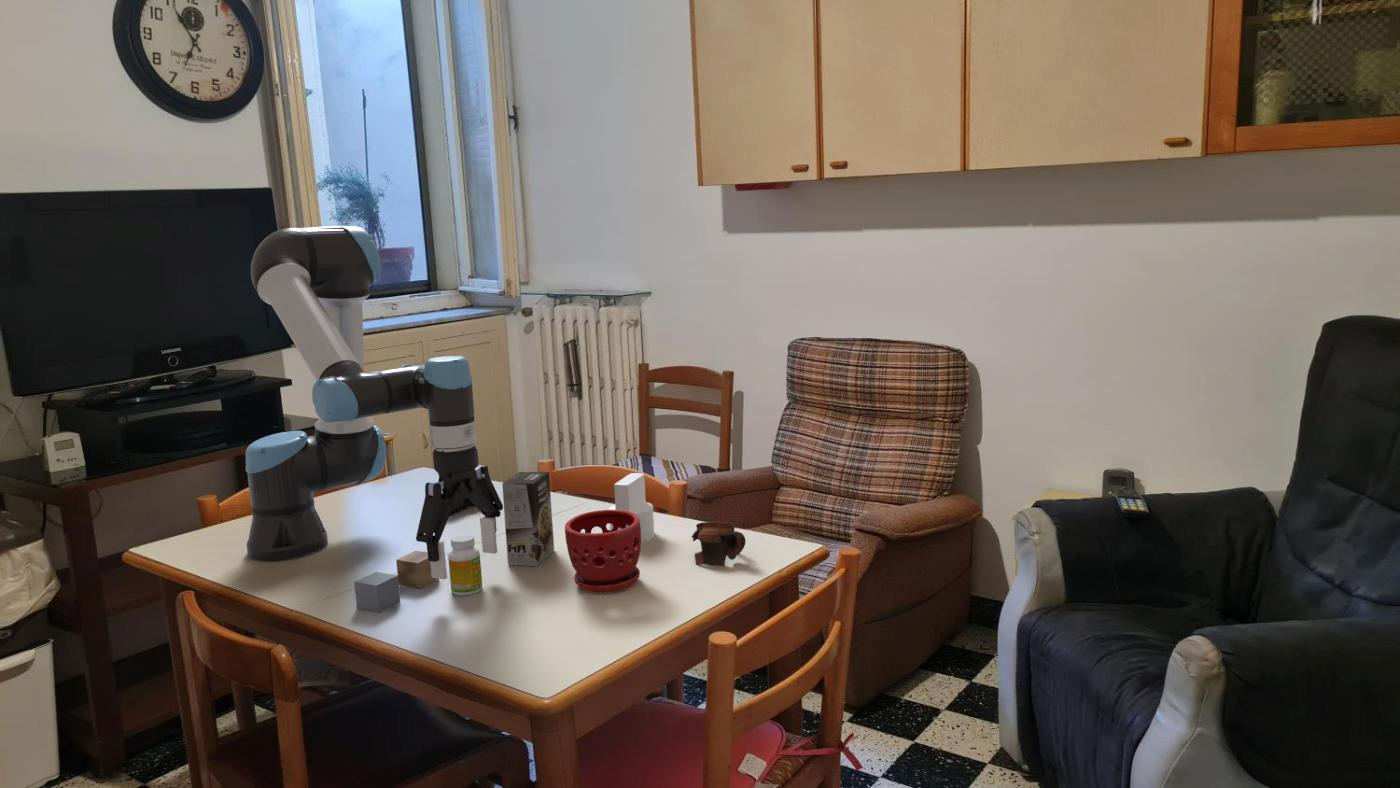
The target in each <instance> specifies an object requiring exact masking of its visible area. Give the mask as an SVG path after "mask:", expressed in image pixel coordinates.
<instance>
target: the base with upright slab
mask: <svg viewBox="0 0 1400 788" xmlns="http://www.w3.org/2000/svg"><path fill="white" fill-rule="evenodd" d="M613 486H614V488H613V489H614V504H612V505H611V506H609V508H608V510H623V511H628V512H632V513H634V514H636V515H637V516H638V518H639V520H640V528H641V543H643V541H644V542H646V541H650V540H651V539H653V538H654V537H655V523H654V521H655V519H654V505H653V503H650V502H647V501H646V485H645V474H644V473H637V472H636V473H635V472H634V473H633V472H630V473H629V474H627V475H626V476H624V477H623V478H622V479H620V480H618V481H616V483H614V484H613ZM626 527H628V525H626ZM612 529H613V525H612V524H610V523H609V530H612ZM618 530H621V528H618ZM633 543H634V542H633Z"/></svg>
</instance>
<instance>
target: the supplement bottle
mask: <svg viewBox="0 0 1400 788" xmlns="http://www.w3.org/2000/svg"><path fill="white" fill-rule="evenodd" d="M475 543H476V541H475V536H474V535H472V534H459V535H455V536H453V537H451V538H450V546H451V550H450V551H449V552H448V554H447V557H448V558H447V560H448V570H449V579H450V581H449V582H450V590H451V593H452V594H453V595H456V596H458V597H459V596H471V595H474V594H477V593H479V592H480V591H481V590H482V589H483V577H482V576H483V575H482V566H481V565H482V563H481V554H480V550H479V548H478V547H476V546H475Z"/></svg>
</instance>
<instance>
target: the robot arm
mask: <svg viewBox="0 0 1400 788" xmlns="http://www.w3.org/2000/svg"><path fill="white" fill-rule="evenodd" d="M380 258H381V257H380V253H379V250H378V248H377V245H376V243H375V241H374V239H373V238H372V236H371V235H370V233H369V231H367V230H366V229H364V228H362V227H360V226H349V225H331V226H330V225H329V226H313V227H312V226H310V227H308V226H307V227H286V228H282V229H279V230H276V231H274V232H272V233H270V234H269V235H268V236H266V237H265V238H264V239H262V241H261V242H260V243H259V244H258V246H257V248H256V249H255V251H254V253H253V256H252V259H251V262H250V277H251V278H250V279H251V282H252V285H253V287H254V289H255V291H256V293H257V295H258V296H259V298H260V299H261V300H262V301H263V302H264V303H266V304H268V305H270V306H271V307H272V309H273V310H274V312H275V314H276V315H277V316H278V318H279V320H280V321H281V324H282V326H284V329H285V330H286V332H287V334H288V335H289V337H290V339H291V340H292V342H293V343H294V345H295V347H296V349H297V351H298V352H299V354H300V356H301V358H302V359H303V362H305V364H306V367H308V369H309V371H310V372H311V374H312V376H313V377H314V379H315V382H314V384H313V385H312V386H313V387H312V392H311V394H312V395H311V396H312V403H313V406H314V410H315V414H316V415H317V417H318V418H319V419H318V420H317V421H316V422H314V432H315V433H314V435H309V436H308V435H307V433H306V432H305V431H303V430H289V431H286V432H285V431H282V432H277V433H273V434H270V435H266V436H264V437H261V438H259V439H257V440H255V441H253V442H252V443H250V444H249V445H248V447H247V448H246V450H245V472H246V473H247V475H246V476H247V483H248V490H249V497H250V498H249V499H250V505H251V514H252V518H251V524H250V527H249V535H248V539H247V542H246V551H247V557H248V558H250V559H252V560H255V561H260V562H261V561H262V562H272V561H273V562H276V561H287V560H293V559H297V558H302V557H306V556H309V555H312V554H314V553H317V552H318V551H321V550H323V549H325V548H326V546H327V545H328V543H329V541H328V533H327V530H326V529H325V527H324V524H323V522H322V520H321V518H320V516H319V514H318V512H317V510H316V505H315V499H314V498H315V497H314V496H315V495H314V494H315V493H318V492H319V493H320V492H324V491H328V490H333V489H337V488H343V487H348V486H354V485H361V484H362V483H364V482H368V481H372V480H374V479H376V478H377V477H378V476H379V475H380V474H381V473H382V471H384V467H385V464H386V460H387V459H386V458H387V444H386V441H385V436H384V433H383V431H382V430H381V428H380V427H379V426H378V425H375V421H374V420H373V418H371V417H374V416H379V415H380V416H381V415H385V414H392V413H400V412H405V411H410V410H416V409H423V410H424V409H425V410H428V418H429V429H430V443H431V447H432V448H434V450H433V451H432V459H433V469H434V471H435V472H436V473H437V474H438V481H437V482H426V483H425V485H424V488H425V489H424V491H425V493H424V494H425V495H424V501H423V505H422V508H421V509H422V510H421V512H420V513H421V514H420V519H419V522H418V527H417V532H416V537H415V539H416V540H415V541H416V542H420V543H425V544H426V550H427V551H426V552H427V554H428V560H429V561H430V565H431V575H432V578H437V579H439V580H447V579H448V572H447V562H446V561H447V560H446V551H445V550H446V549H445V542H444V540H441V538H442V536H443V533H444V530H445V528H446V525H447V522H448V520H449V517H450V516H449V515H450V513H451V510H452V508H453V507H454V506H456V504H457V502H459V501H461V500H463V499H464V498H469V499H470V500H471V501H472V503H473V504H474V506H475V508H477V509H478V511H479V512H480V513H481V514H482V515H483V516H481V517H479V524H480V525H479V527H480V535H481V536H480V537H481V546H482V553H485V554H486V553H487V554H497V553H498V546H497V545H498V544H497V530H498V529H497V519H496V518H499V517H500V516H501V511H502V510H504V503H503V502H502V500H501V499H500V497H499V494H498V492H497V490H496V487H495V485H494V483H493V481H492V479H491V477H490V472H489V467H488V465H481V464H480V463H479V462H480V461H479V452H478V450H479V449H478V447H477V446H476V445H475V444H476V443H477V433H476V424H475V422H476V421H475V420H476V419H475V409H474V408H475V407H474V405H475V404H474V393H473V390H474V389H473V377H472V374H471V368H470V367H471V366H470V362H469V359H467V358H466V357H465V356H461V355H456V356H455V355H447V356H436V357H431V358H429V359H427V360H426V361H425V363H424V364H422V363H406V364H403V365H400V366H399V367H395V368H391V369H383V370H376V371H368V372H366V370H365V345H364V343H365V342H364V340H365V339H364V322H363V320H364V319H363V317H364V316H363V303H364V301H366V299H368V298H369V297H370V295H371V294H370V293H371V292H370V291H371V290H370V285H374V284H376V283H378V282H379V280H380V276H381V272H382V266H381V265H382V263H381V259H380ZM475 481H476V482H475ZM476 483H477V484H476ZM445 497H446V498H447V499H445Z"/></svg>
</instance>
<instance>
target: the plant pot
mask: <svg viewBox="0 0 1400 788" xmlns="http://www.w3.org/2000/svg"><path fill="white" fill-rule="evenodd" d="M608 524H609V525H610V524H612V525H613V529H612V530H610V529H608V528H607V525H608ZM626 525H628V527H626ZM593 528H600V529H601V533H600V532H599V533H598V532H597V533H595V532H594V533H593V532H592V530H593ZM618 528H621V530H618ZM582 530H584V532H581V531H582ZM564 534H565V542H566V547H567V552H568V556H569V560H570V562H571V565H572V567H573V569H574V571H575V574H574V576H573V577H574V578H573V579H574V583H575V585H577V587H579V588H580V589H582V590H583V591H586V592H588V593H593V594H611V593H616V592H620V591H621V592H622V591H623V592H624V591H625V590H626V589H628V588H630V587H632V586H633V585H635V584H636V582H637V581H638V580H639V578H640V576H641V574H640V573H641V572H640V569H639V567H637V565H638V562H639V560H640V554H641V547H642V542H641V528H640V520H639V518H638V516H637V515H636V514H634V513H632V512H628V511H623V510H609V509H602V510H593V511H588V512H584V513H581V514H578V515H576V516H574V517H571V519H569V520H568V521H566V523H565V525H564ZM633 542H634V543H633Z"/></svg>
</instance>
